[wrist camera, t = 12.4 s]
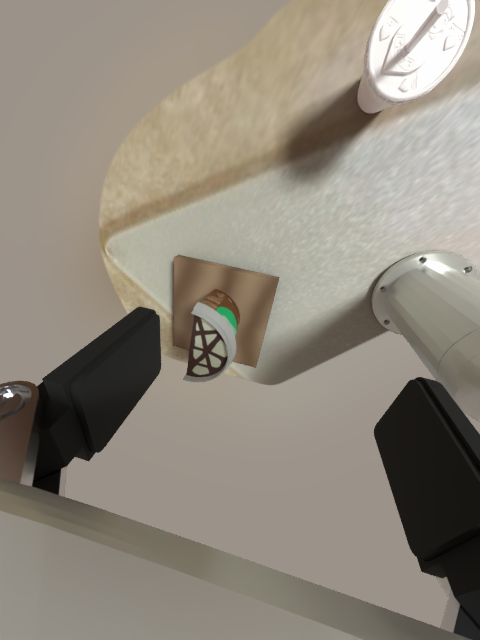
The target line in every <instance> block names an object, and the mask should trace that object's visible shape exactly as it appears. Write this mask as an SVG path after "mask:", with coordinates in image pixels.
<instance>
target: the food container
mask: <svg viewBox="0 0 480 640" xmlns="http://www.w3.org/2000/svg"><path fill="white" fill-rule="evenodd" d="M191 314H194V322H193V329H192V336H191V341H190V347H189V360H188V368H187V373H186V375H185V377H184V379H183V380H186V381H191V382H206V381H209V380H212V379H214V378H216V377H218V376H219V375H220V374H222V373H223V372H224V371H225V370H226V369H227V368H228V367H229V365H230V364H231V363H232V361H233V359H234V357H235V354H236V339H235V337H236V333H237V330H238V326H239V322H240V313H239V309H238V307H237V305H236V303H235V302H234V301H233V299H232V298H231V297H230V296H228V295H227V294H226V293H224V292H222V291H220V290H217V289H214V290H213V291H212V292H211V293H210V294H209V295H208V296H207V297H206V298H205V299H204V300H203V301H202V302H201V303H200V302H197V304H196V305H195V307H194V308H193V311H192V312H191Z"/></svg>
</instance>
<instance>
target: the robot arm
mask: <svg viewBox="0 0 480 640" xmlns="http://www.w3.org/2000/svg"><path fill="white" fill-rule="evenodd" d="M420 258H421V260H419V259H420ZM382 286H383V287H382ZM381 287H382V288H381ZM371 304H372V310H373V312H374V315H375V317H376V318H377V320H378V321H379V323H380V324H381V325H382V326H383V327H385V328H386V329H388V330H389V331H392V332H394V333H397V334H401V335H403V336H404V337H405V339H406V340H407V342H408V343H409V344H410V346H411V347H412V348H413V350H414V351H415V352H416V354H417V355H418V357H419V358H420V359H421V361H422V362H423V364H424V365H425V366H426V368H427V369H428V370H429V372H430V373H431V375H432V376H433V377H434V378H435V380H436V381H434V380H430V379H426V378H422V377H418V378H416V379H414V380H410V381H409V382H408V383H407V385H406V386H405V387H404V389H403V390H402V391H401V392H400V394H399V395H398V397H397V398H396V399H395V400H394V402H393V403H392V405H391V406H390V407H389V409H388V410H387V411H386V412H385V414H384V415H383V416H382V418H381V419H380V420H379V422H378V423H377V424H376V426H375V428H374V436H375V439H376V442H377V446H378V449H379V452H380V455H381V458H382V462H383V465H384V468H385V471H386V474H387V477H388V480H389V484H390V487H391V490H392V493H393V496H394V499H395V503H396V506H397V509H398V512H399V515H400V518H401V522H402V525H403V528H404V531H405V534H406V537H407V541H408V544H409V546H410V549H411V551H412V553H413V554H414V555H415V556H417V559H418V562H419V565H420V568H421V571H422V572H424V573H428V574H430V575H433V576H436V578H437V580H438V582H439V584H440V586H441V587H442V589H443V590H444V592H445V594H446V596H447V597H448V601H447V605H446V609H445V612H444V616H443V620H442V623H441V627H440V628H438V627H435V626H432V625H429V624H427V623H424V622H421V621H418V620H415V619H413V618H410V617H407V616H404V615H401V614H399V613H396V612H393V611H390V610H388V609H385V608H382V607H379V606H376V605H374V604H371V603H368V602H365V601H362V600H360V599H357V598H354V597H351V596H348V595H346V594H343V593H340V592H337V591H334V590H331V589H328V588H326V587H323V586H320V585H317V584H314V583H312V582H309V581H305V580H303V579H300V578H297V577H295V576H292V575H289V574H286V573H283V572H280V571H278V570H275V569H272V568H269V567H266V566H263V565H260V564H258V563H255V562H252V561H249V560H246V559H243V558H241V557H238V556H235V555H232V554H229V553H226V552H224V551H220V550H218V549H215V548H212V547H209V546H207V545H204V544H201V543H198V542H195V541H192V540H189V539H186V538H183V537H181V536H178V535H175V534H172V533H169V532H166V531H163V530H160V529H157V528H155V527H152V526H149V525H146V524H143V523H140V522H137V521H134V520H131V519H129V518H126V517H123V516H120V515H117V514H114V513H111V512H108V511H106V510H103V509H99V508H97V507H94V506H90V505H88V504H84V503H81V502H78V501H75V500H72V499H69V498H65V483H66V469H67V465H68V464H69V463H70V462H71V460H72V459H73V458H74V457H78V458H81V459H84V460H87V461H89V460H90V459H91V458H92V457H93V455H94V454H95V453H96V452H97V453H98V452H100V451H102V450H103V448H104V447H105V446H106V445H107V443H108V442H109V441H110V439H111V438H112V437H113V435H114V434H115V433H116V431H117V430H118V428H119V427H120V426H121V424H122V423H123V422H124V420H125V419H126V418H127V416H128V415H129V414H130V412H131V411H132V410H133V408H134V407H135V406H136V404H137V403H138V401H139V400H140V399H141V397H142V396H143V395H144V393H145V392H146V391H147V389H148V388H149V387H150V385H151V384H152V383H153V381H154V380H155V379H156V377H157V376H158V374H159V372H160V370H161V347H160V318H159V315H157V314H156V312H155V311H154V310H152V309H148V308H144V307H138V308H136V309H135V310H133V311H132V312H131V313H129V314H128V315H127V316H126V317H124V318H123V319H122V320H120V321H119V322H117V323H116V324H115V325H113V326H112V327H111V328H109V329H108V330H107V331H105V332H104V333H103V334H101V335H100V336H99V337H98V338H96V339H95V340H93V341H92V342H91V343H89V344H88V345H87V346H85V347H84V348H83V349H81V350H80V351H79V352H77V353H76V354H75V355H73V356H72V357H71V358H69V359H68V360H67V361H65V362H64V363H63V364H62V365H60V366H59V367H57V368H56V369H55V370H53V371H52V372H51V373H49V374H48V375H47V376H45V377H44V378H43V382H42V383H41V384H40V385H38V386H36V385H35V384H33V383H31V382H28V381H12V382H7V383H3V384H0V640H480V434H479V433H478V432H477V430H476V429H475V428H474V427H473V425H472V424H471V423H470V421H469V420H468V418H467V417H466V416H465V414H467V415H468V416H470V417H471V418H473V419H475V420H476V421H479V422H480V273H479V271H478V270H477V268H476V266H475V265H474V264H473V263H472V262H471V261H470V260H468V259H467V258H465V257H463V256H461V255H459V254H456V253H453V252H448V251H439V250H432V251H425V252H420V253H417V254H414V255H411V256H409V257H406V258H404V259H402V260H400V261H399V262H397V263H396V264H394V265H393V266H392V267H390V268H389V269H388V270H387V271H386V272H385V273H384V274H383V275H382V277H381V278H380V279H379V280H378V282H377V284H376V286H375V288H374V291H373V294H372V300H371ZM462 411H463V412H464V413H465V414H464V413H463V412H462Z"/></svg>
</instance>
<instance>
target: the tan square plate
mask: <svg viewBox="0 0 480 640" xmlns="http://www.w3.org/2000/svg"><path fill="white" fill-rule="evenodd" d="M278 281H279V277H276V276H271V275H267V274H262V273H258V272H253V271H249V270H244V269H240V268H235V267H231V266H226V265H222V264H218V263H213V262H209V261H204V260H200V259H195V258H191V257H186V256H182V255H177V256H175V257H174V343H173V346H176V347H180V348H184V349H188V350H189V347H190V341H191V336H192V329H193V322H194V314H191V312H192V311H193V308H194V307H195V305H196V304H197V302H200V303H201V302H202V301H203V300H204V299H205V298H206V297H207V296H208V295H209V294H210V293H211V292H212V291H213V290H214V289H217V290H220V291H222V292H224V293H226V294H227V295H228V296H230V297H231V298H232V299H233V301H234V302H235V303H236V305H237V307H238V309H239V313H240V322H239V326H238V330H237V333H236V337H235V339H236V354H235V357H234V359H233V362H237V363H240V364H244V365H248V366H252V367H255V368H256V366H257V362H258V358H259V354H260V350H261V346H262V342H263V339H264V335H265V331H266V327H267V323H268V319H269V315H270V312H271V308H272V304H273V300H274V296H275V292H276V288H277V284H278Z"/></svg>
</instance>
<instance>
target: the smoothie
mask: <svg viewBox="0 0 480 640" xmlns="http://www.w3.org/2000/svg"><path fill="white" fill-rule="evenodd" d="M474 12H475V2H474V0H389V1H388V3H387V4H386V5H385V7H384V9H383V10H382V12H381V14H380V15H379V17H378V19H377V21H376V22H375V24H374V26H373V28H372V31H371V34H370V36H369V39H368V42H367V46H366V51H365V56H364V71H363V74H362V78H361V82H360V85H359V89H358V94H357V100H358V104H359V107H360V108H361V109H362V110H363V111H364V112H366V113H376V112H379V111H381V110H384V109H386V108H388V107H390V106H393V105H404V104H407V103H409V102H412V101H415V100H417V99H419V98H420V97H422V96H424V95H425V94H427V93H428V92H430V91H431V90H432V89H433V88H434V87H435V86H436V85H437V84H438V83H439V82H440V81H441V80H442V79H443V78H444V77H445V76H446V75H447V74H448V73H449V72H450V70H451V69H452V68H453V67H454V65H455V64H456V62H457V61H458V59H459V58H460V56H461V54H462V52H463V50H464V48H465V46H466V44H467V41H468V39H469V36H470V33H471V30H472V25H473V20H474Z"/></svg>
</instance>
